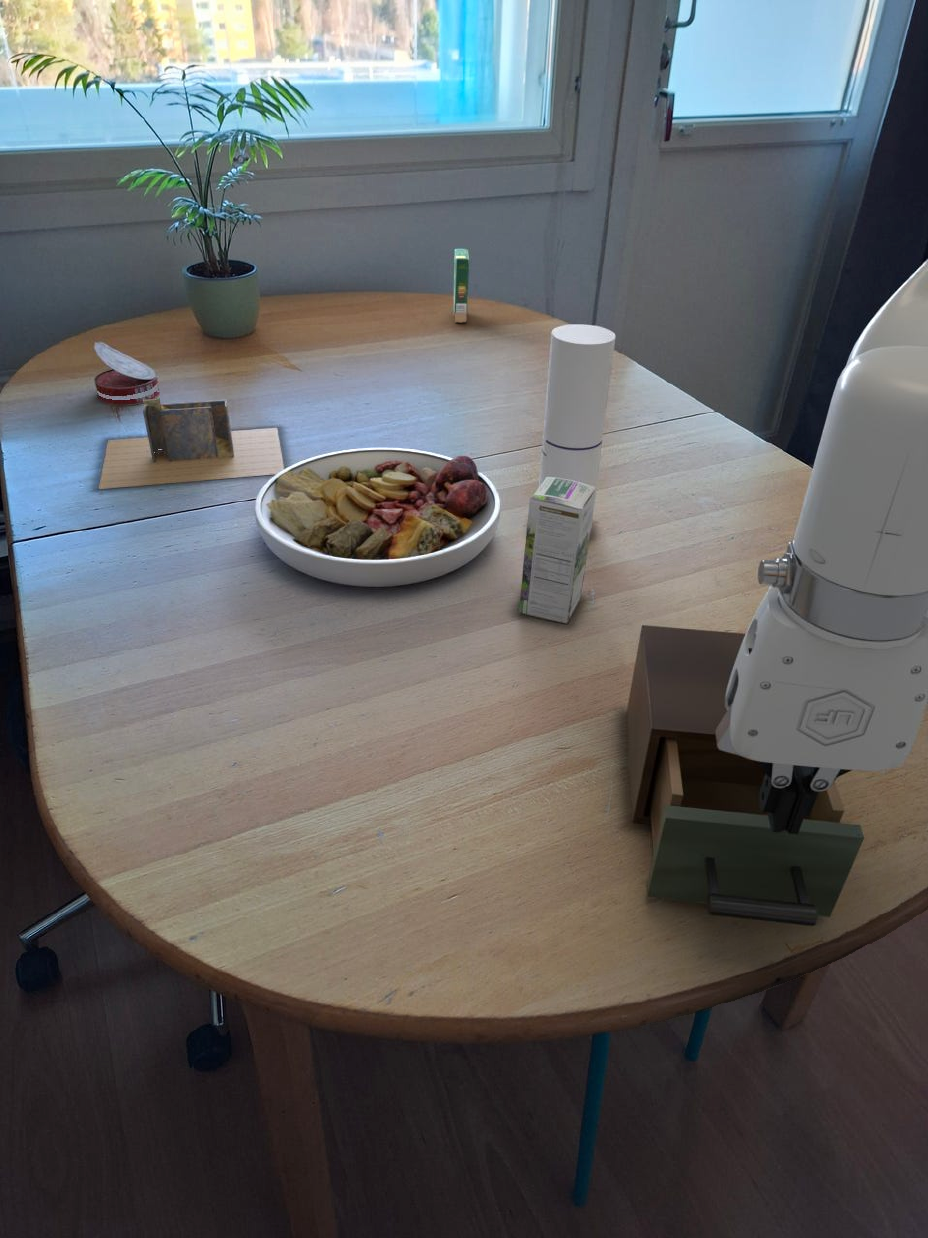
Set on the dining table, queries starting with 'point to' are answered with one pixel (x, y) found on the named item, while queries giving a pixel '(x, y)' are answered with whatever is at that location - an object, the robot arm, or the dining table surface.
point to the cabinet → (674, 697)
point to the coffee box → (461, 280)
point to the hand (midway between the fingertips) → (780, 816)
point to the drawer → (741, 840)
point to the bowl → (378, 515)
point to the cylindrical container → (576, 402)
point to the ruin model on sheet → (190, 448)
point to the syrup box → (556, 548)
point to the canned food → (123, 377)
